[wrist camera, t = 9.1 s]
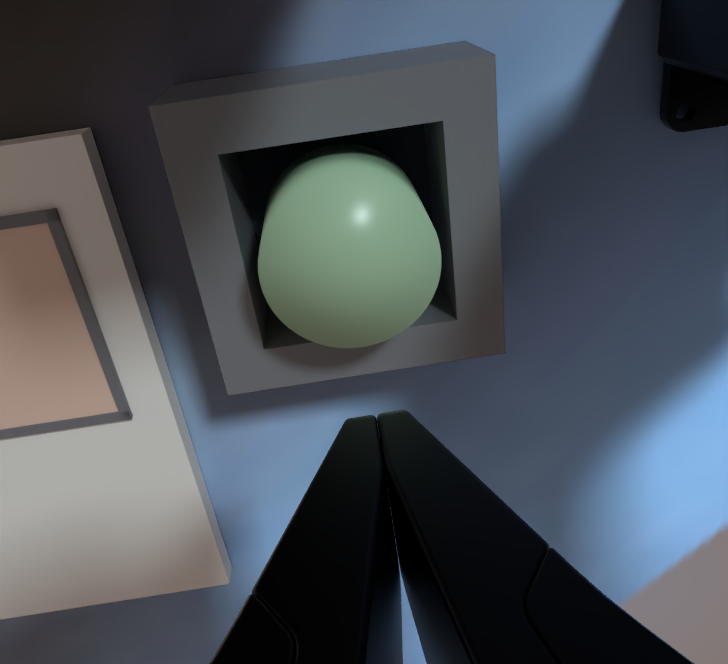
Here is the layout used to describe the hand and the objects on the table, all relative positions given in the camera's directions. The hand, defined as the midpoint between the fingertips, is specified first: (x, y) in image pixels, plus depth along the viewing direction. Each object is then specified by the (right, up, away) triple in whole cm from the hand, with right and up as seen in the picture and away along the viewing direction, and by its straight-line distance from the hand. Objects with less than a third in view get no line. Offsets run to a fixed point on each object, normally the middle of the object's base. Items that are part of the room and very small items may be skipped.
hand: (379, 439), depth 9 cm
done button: (-1, +4, +8) cm, 9 cm away
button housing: (-1, +5, +9) cm, 11 cm away
